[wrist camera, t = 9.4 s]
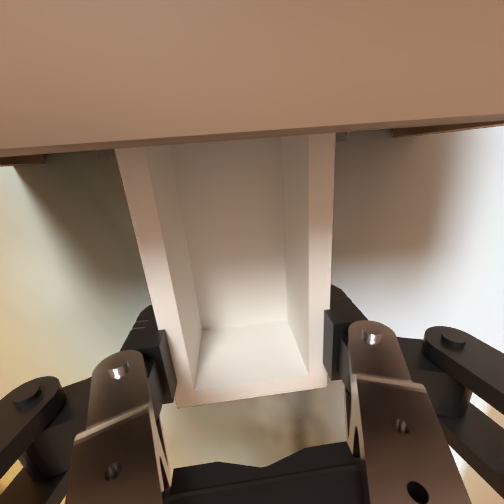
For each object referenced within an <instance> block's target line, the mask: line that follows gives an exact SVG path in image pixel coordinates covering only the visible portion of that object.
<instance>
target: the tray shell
mask: <svg viewBox="0 0 504 504" xmlns="http://www.w3.org/2000/svg"><path fill="white" fill-rule="evenodd" d="M335 139H336V133H323V134H310V135H296V136H282V137H268V138H255V139H241V140H227V141H214V142H200V143H186V144H173V145H159V146H145V147H132V148H118V149H114V150H115V154H116V158H117V162H118V167H119V171H120V175H121V179H122V183H123V187H124V191H125V195H126V199H127V203H128V208H129V212H130V216H131V220H132V224H133V228H134V232H135V236H136V240H137V244H138V248H139V253H140V257H141V261H142V265H143V269H144V273H145V277H146V281H147V285H148V289H149V294H150V298H151V302H152V306H153V310H154V314H155V318H156V322H157V326H158V330H163V329H165V331H166V336H167V340H168V344H169V349H170V353H171V357H172V362H173V366H174V370H175V375H176V379H177V387H176V391H175V400H176V404H177V408H184V407H191V406H198V405H205V404H212V403H219V402H226V401H233V400H240V399H247V398H254V397H261V396H268V395H275V394H282V393H289V392H296V391H303V390H310V389H317V388H324V387H327V376H328V373H327V371H326V369H325V367H324V365H323V331H324V310H327V309H330V287H331V257H332V228H333V198H334V168H335Z"/></svg>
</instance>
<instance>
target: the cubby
mask: <svg viewBox="0 0 504 504" xmlns="http://www.w3.org/2000/svg"><path fill="white" fill-rule="evenodd" d="M495 126H504V0H0V167H3V166H21V165H34V164H46V163H45V160H44V157H43V154H50V153H63V152H77V151H91V150H98V152H99V156H100V158H116V154H115V150H114V149H118V148H132V147H145V146H159V145H173V144H186V143H200V142H214V141H227V140H241V139H255V138H268V137H282V136H296V135H310V134H323V133H336V139H335V142H336V141H342V140H346V135H347V132H351V131H364V130H378V129H392V128H393V136H392V137H404V136H418V135H427V134H436V133H444V132H453V131H461V130H470V129H478V128H487V127H495Z"/></svg>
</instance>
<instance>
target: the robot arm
mask: <svg viewBox="0 0 504 504" xmlns="http://www.w3.org/2000/svg"><path fill="white" fill-rule="evenodd" d="M323 365H324V367H325V369H326V371H327V373H328V375H329V377H330V379H331V381H333V380H340V379H342V381H343V383H344V385H345V386H344V405H345V423H346V442H339V443H333V444H327V445H320V446H314V447H308V448H304V449H302V450H300V451H298V452H296V453H294V454H292V455H290V456H288V457H286V458H284V459H282V460H280V461H278V462H275V463H273V464H271V465H269V466H267V467H252V466H245V465H238V464H231V463H223V462H213V463H207V464H200V465H194V466H188V467H181V468H175V469H174V471H173V477H172V476H171V471H170V466H169V460H168V455H167V450H166V444H165V439H164V434H163V428H162V423H161V419H160V411H161V408H162V404H167V403H173V401H174V396H175V391H176V387H177V379H176V375H175V370H174V366H173V362H172V357H171V353H170V349H169V344H168V340H167V336H166V331H165V329H163V330H158V326H157V322H156V318H155V314H154V310H153V306H152V305H149V306H148V307H147V308H146V309H144V310H143V311H142V312H141V313H140V315H139V317H138V318H137V320H136V323H135V324H134V326H133V328H132V330H131V331H130V333H129V335H128V337H127V339H126V341H125V342H124V344H123V346H122V348H121V350H120V352H117V353H115V354H113V355H110V356H109V357H107V358H105V359H104V360H103V361H101V362H100V363H99V364H98V365H97V366H96V368H95V369H94V371H93V373H92V377H90V378H88V379H85V380H82V381H80V382H77V383H74V384H71V385H68V386H65V387H63V388H62V386H61V384H60V382H59V380H58V379H57V378H56V377H52V376H46V377H40V378H36V379H34V380H31V381H29V382H26V383H24V384H22V385H21V386H19V387H17V388H16V389H14V390H13V391H11V392H10V393H9V394H7V395H6V396H5V397H4V398H3V399H1V400H0V479H1V478H2V477H3V476H4V474H5V473H6V472H7V471H8V470H9V469H10V467H11V466H12V465H13V464H14V463H15V462H16V461H17V459H19V461H20V462H21V464H22V466H23V469H22V470H21V471H20V472H19V473H18V475H17V476H16V477H15V478H14V479H13V481H12V482H11V483H10V484H9V486H8V487H7V488H6V489H5V490H4V492H3V493H2V494H1V495H0V504H60V503H61V502H62V500H63V499H64V497H65V495H66V500H65V504H472V503H471V501H470V498H469V496H468V493H467V491H466V488H465V486H464V483H463V481H462V478H461V476H460V473H459V471H458V468H457V466H456V463H455V461H454V458H453V456H452V453H451V451H450V448H449V446H448V444H449V445H450V446H451V447H452V448H453V449H454V450H455V451H456V452H457V453H458V454H459V455H460V456H461V457H462V458H463V459H464V460H465V461H466V462H467V463H468V464H469V465H470V466H471V467H472V468H473V469H474V470H475V471H476V472H477V473H478V474H479V475H480V476H481V477H482V478H483V479H484V480H485V481H486V482H487V483H488V484H489V485H490V486H491V487H492V488H493V489H494V490H495V491H496V492H497V493H498V494H499V495H500V496H501V497H502V498H503V499H504V429H503V428H502V427H501V426H499V425H498V424H497V423H495V422H494V421H493V420H492V419H491V418H489V417H488V416H487V415H485V414H484V413H483V412H482V411H480V410H479V409H478V408H476V407H475V406H474V405H473V404H471V403H470V398H471V395H472V392H474V393H475V394H476V395H478V396H479V397H480V398H482V399H483V400H484V401H486V402H487V403H488V404H490V405H491V406H492V407H494V408H495V409H496V410H498V411H499V412H501V413H502V414H503V415H504V353H502V352H500V351H498V350H496V349H495V348H493V347H491V346H489V345H487V344H486V343H484V342H482V341H480V340H479V339H477V338H475V337H473V336H471V335H470V334H468V333H466V332H463V331H461V330H458V329H455V328H451V327H444V326H435V327H430V328H428V329H427V330H426V331H425V335H424V340H422V339H411V338H401V337H396V335H395V333H394V332H393V331H392V330H391V329H390V328H389V327H387V326H386V325H384V324H381V323H379V322H375V321H369V320H368V319H367V318H366V317H365V316H364V315H363V314H362V312H361V311H360V310H359V309H358V308H357V307H356V306H355V305H354V303H352V301H351V300H350V299H349V298H348V297H347V295H346V294H345V293H344V292H343V291H342V290H341V289H339V288H338V287H336V286H334V285H332V284H331V287H330V309H327V310H324V331H323Z"/></svg>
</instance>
